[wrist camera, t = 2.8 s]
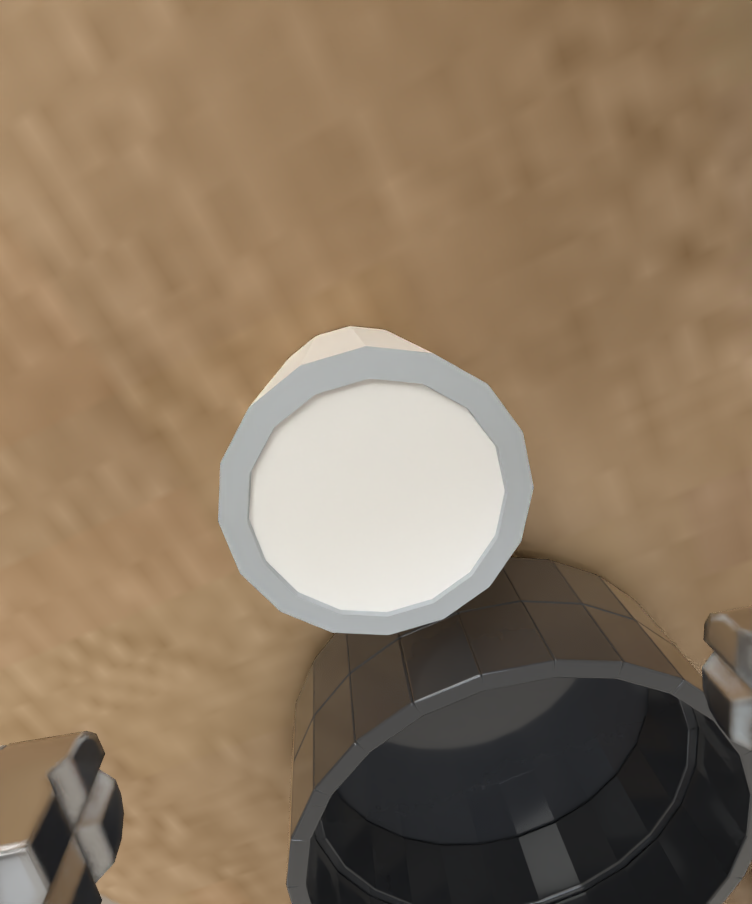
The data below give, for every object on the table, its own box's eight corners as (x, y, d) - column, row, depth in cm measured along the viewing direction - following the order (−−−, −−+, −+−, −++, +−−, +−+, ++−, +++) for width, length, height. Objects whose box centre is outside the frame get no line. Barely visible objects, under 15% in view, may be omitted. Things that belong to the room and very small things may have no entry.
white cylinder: (234, 315, 18) (187, 363, 11) (459, 295, 18) (539, 331, 12) (265, 519, 20) (242, 656, 14) (464, 497, 21) (532, 621, 14)
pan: (256, 591, 21) (235, 720, 16) (668, 517, 22) (790, 615, 16) (330, 876, 27) (334, 1048, 21) (659, 811, 27) (748, 961, 22)
